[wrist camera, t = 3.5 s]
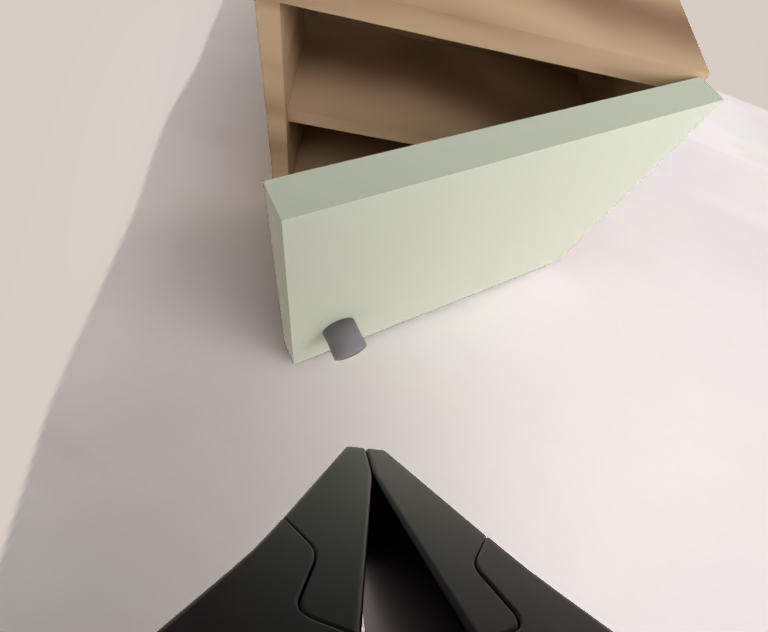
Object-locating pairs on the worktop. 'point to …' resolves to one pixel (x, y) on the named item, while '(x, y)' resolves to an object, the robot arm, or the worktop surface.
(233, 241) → the worktop surface
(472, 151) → the door
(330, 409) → the worktop surface
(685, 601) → the worktop surface
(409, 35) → the cabinet
